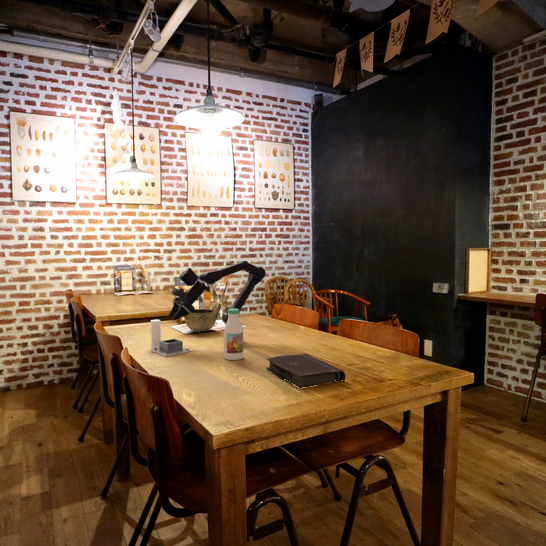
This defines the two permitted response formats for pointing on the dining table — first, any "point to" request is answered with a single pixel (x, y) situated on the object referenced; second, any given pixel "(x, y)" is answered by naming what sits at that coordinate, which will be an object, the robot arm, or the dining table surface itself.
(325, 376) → the diary
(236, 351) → the milk bottle
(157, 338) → the rail post
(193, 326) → the ceramic bowl
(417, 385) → the dining table surface
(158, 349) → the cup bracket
